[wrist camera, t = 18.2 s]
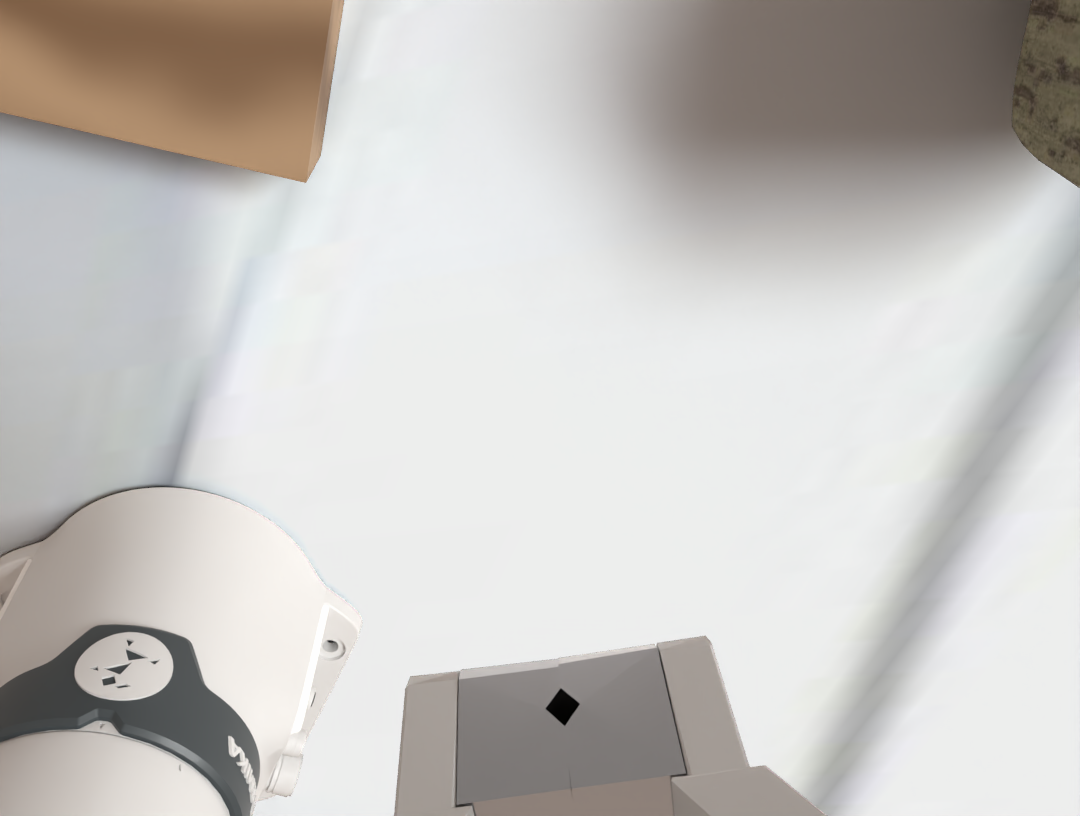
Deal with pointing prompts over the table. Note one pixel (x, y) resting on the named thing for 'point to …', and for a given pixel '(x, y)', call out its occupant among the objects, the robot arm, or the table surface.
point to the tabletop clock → (1050, 86)
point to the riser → (178, 74)
